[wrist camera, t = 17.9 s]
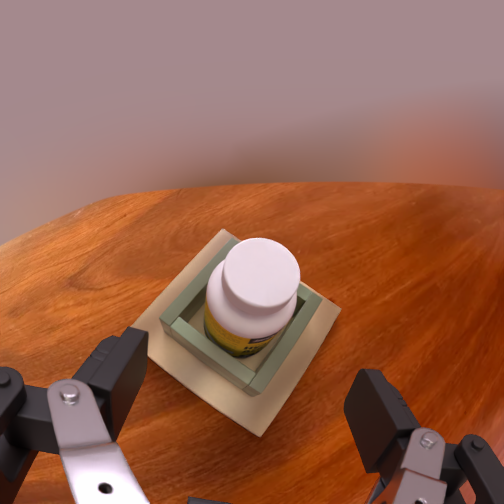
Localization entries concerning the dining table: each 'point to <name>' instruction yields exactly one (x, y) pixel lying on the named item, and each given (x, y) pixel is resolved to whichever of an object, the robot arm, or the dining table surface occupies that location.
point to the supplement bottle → (251, 296)
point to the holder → (219, 361)
